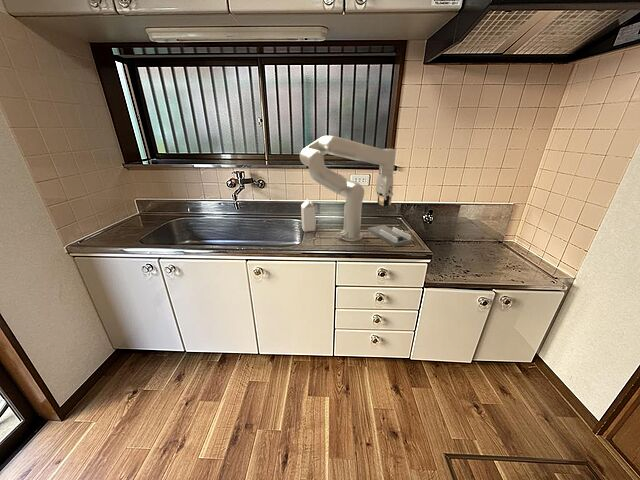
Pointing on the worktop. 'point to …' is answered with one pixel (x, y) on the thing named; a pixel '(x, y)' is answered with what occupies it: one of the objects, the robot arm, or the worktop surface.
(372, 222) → the worktop surface
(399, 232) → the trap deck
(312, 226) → the milk carton
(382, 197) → the maple block
